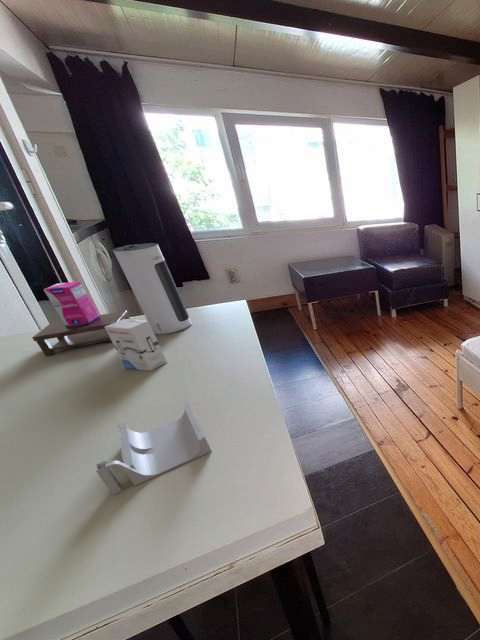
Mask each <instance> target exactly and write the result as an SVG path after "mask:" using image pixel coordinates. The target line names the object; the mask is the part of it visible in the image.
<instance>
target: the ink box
mask: <svg viewBox="0 0 480 640" xmlns="http://www.w3.org/2000/svg"><path fill="white" fill-rule="evenodd" d="M105 329H106V331H107V333H108V335H109V337H110V339H111V340H110V341H111V342H112V344H113V346H114V348H115V350H116V352H117V354H118V356H119V358H120V361H121V362H122V365H123V366H124V368H125V369H130V370H140V371H149V372H151V371H153V370H155V369H157V368H158V367H160V366H162V365H164V364H167V363H168V360H167V358H166V356H165V354H164V352H163V350H162V348H161V345H160V343H159V341H158V339H157V336H156V334H155V333H154V332H153V330H152V328H151V326H150V324H149V322H148V321H147V320H142V319H141V320H140V319H131V318H130V319H123V320H120V321H118V322H115V323H113V324H110V325H108V326H105Z"/></svg>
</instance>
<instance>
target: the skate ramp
mask: <svg viewBox="0 0 480 640" xmlns="http://www.w3.org/2000/svg"><path fill="white" fill-rule="evenodd" d="M182 406H183V407H184V412H183V414H182V415H181V417H179V418H178V419H177V420H175V421H172V422H169V423H167V424H165V425H162V426H159V427H156V428H154V429H152V430H149V431H144V432H138V431H134V430H132V429H130V428H129V427H128V425H125V423H123V425H122V426H120V424H118V425H117V427H118V435H119V442H120V443H119V444H120V451H121V459H122V461H120V460H111V461H106V460H103V461H100V462H98V463H96V464H95V471H96V474H97V475H98V476H99V478H100V479H101V481H102V482H103V483H104V485H105V486H106V489H108V491H109V492H110V494H111V495H112V496H115V495H116V494H118V493H121V492H122V489H121V488H120V487H119V486H121V485H122V484H121V482H120V481H119V479H118V478H117V476H116V475H115V473H114V472H113V470H112V468H116V469H121V470H122V471H124V472H125V473H126V475H127V476H128V477H129V479H130V481H131V482H132V484H133V485H134V486H137V485H139V484H142V483H145V482H146V481H148V480H150V479H153V478H155V477H158V476H160V475H162V474H165V473H166V472H168V471H171V470H173V469H175V468H177V467H180V466H182V465H184V464H187V463H189V462H191V461H194V460H196V459H197V458H200V457H202V456H204V455H207V454H209V453H211V452H212V449H211V447H210V445H209V442H208V440H207V438H206V436H205V434H204V431H203V429H202V427H201V425H200V423H199V421H198V418H197V416H196V414H195V412H194V410H193V408H192V406H191V403H190V402H188V401H184V403H182Z"/></svg>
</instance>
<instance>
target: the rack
mask: <svg viewBox="0 0 480 640" xmlns="http://www.w3.org/2000/svg"><path fill="white" fill-rule="evenodd" d="M99 316H100V318H99V319H97V320H95V321H94V322H92V323H91V324H88V325H77V326H70V327H66V326H65V324H64V323H63V321H62V320H61V321H54V322H50V323H49V324H48V325H46V326H45V327H44V328H42V329H41V330H40V331H39V332H37V333H36V334H35V335H33V336H32V337H31V338H32V340H33V342H36V344H37V345H38V346H39V348H40V349H41V351H42V353H43V354H44V356H45V357H50V356H54V355H55V354H56V351H60V350H65V349H71V348H76V347H81V346H86V345H92V344H96V343H97V344H98V343H101V342H107V341H111V339H110V337H109V335H108V333H107V331H106V329H105V326H108V325H110V324H113V323H115V322H118V321H120V320H123V319H131V318H130V316H129V311H128V310H122V311H116V312H110V313H104V314H99ZM50 339H57V342H56V343H55V344H54V345H53V346H52V344H51V343H50V341H49V340H50Z"/></svg>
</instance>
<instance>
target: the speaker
mask: <svg viewBox="0 0 480 640" xmlns="http://www.w3.org/2000/svg"><path fill="white" fill-rule="evenodd" d="M112 252H113V253H114V255H115V257H116V260H117V262H118V263H119V266H120V268H121V270H122V272H123V274H124V276H125V278H126V280H127V282H128V284H129V287H130V288H131V290H132V293H133V294H134V296H135V299H136V300H137V303H138V305H139V306H140V309H141V310H142V313H143V314H144V317H145V319H146V321H148V322H149V324H150V326H151V328H152V330H153V332H154V334H155V335H169V334H174V333H177V332H180V331H183V330H186V329H188V328H189V327H191V326H192V325H193V322H192V320H191V317H190V316H189V313H188V310H187V308H186V306H185V304H184V302H183V299H182V297H181V294H180V292H179V290H178V287H177V286H176V283H175V281H174V278H173V276H172V274H171V271H170V269H169V267H168V264H167V261H166V259H165V257H164V255H163V253H162V251H161V248H160V246H159V244H158V243H153V242H150V243H139V244H127V245H123V246H120V247H116V248H114V249H113V250H112Z"/></svg>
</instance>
